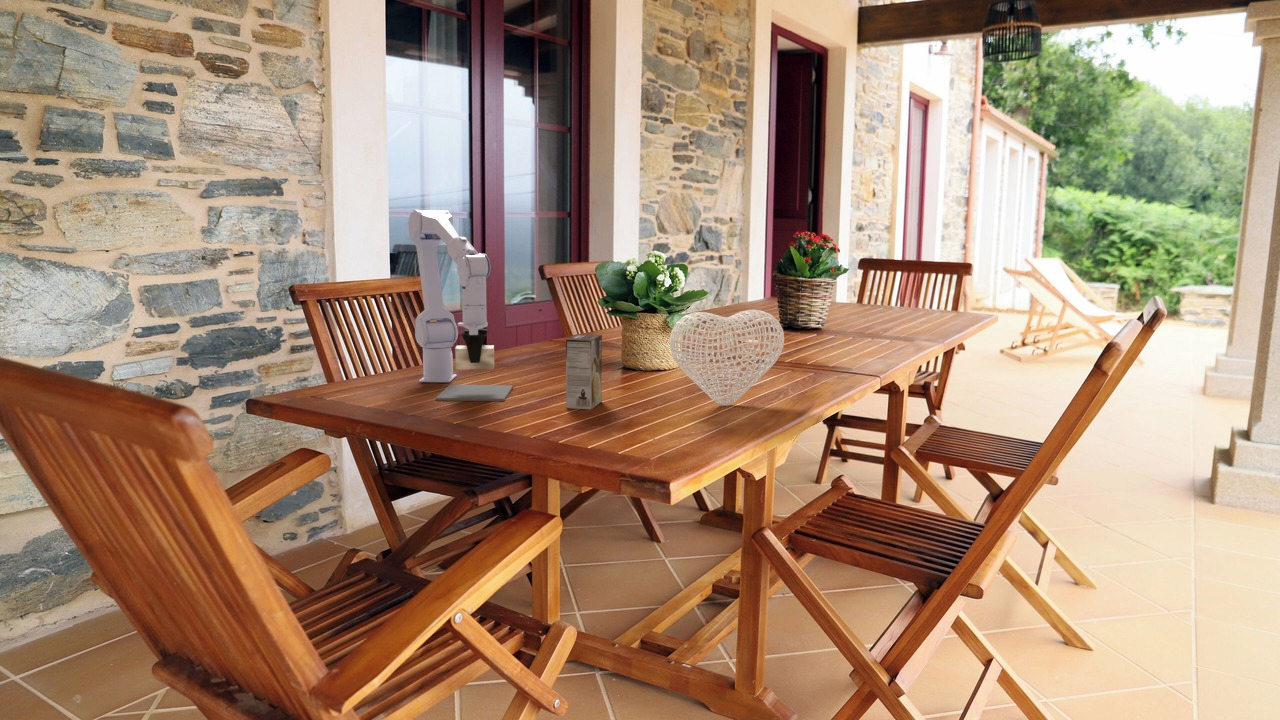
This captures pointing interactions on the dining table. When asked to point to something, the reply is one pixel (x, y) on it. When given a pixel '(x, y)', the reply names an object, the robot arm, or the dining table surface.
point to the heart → (727, 320)
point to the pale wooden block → (484, 363)
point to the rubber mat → (475, 393)
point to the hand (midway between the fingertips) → (475, 360)
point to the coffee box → (583, 371)
